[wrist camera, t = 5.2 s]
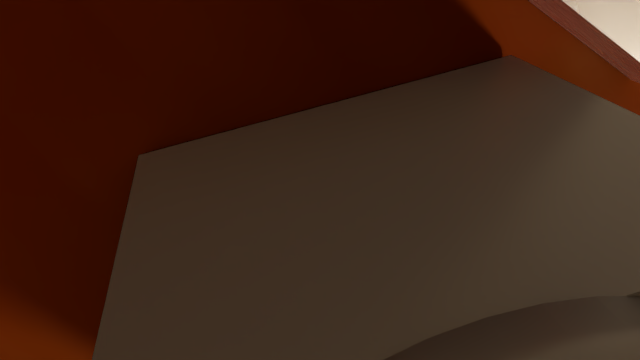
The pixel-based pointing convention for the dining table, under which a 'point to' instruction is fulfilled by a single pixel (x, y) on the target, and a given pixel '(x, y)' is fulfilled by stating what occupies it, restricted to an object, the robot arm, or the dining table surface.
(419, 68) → the dining table surface
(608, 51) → the shaft base
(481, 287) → the knob
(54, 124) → the dining table surface
